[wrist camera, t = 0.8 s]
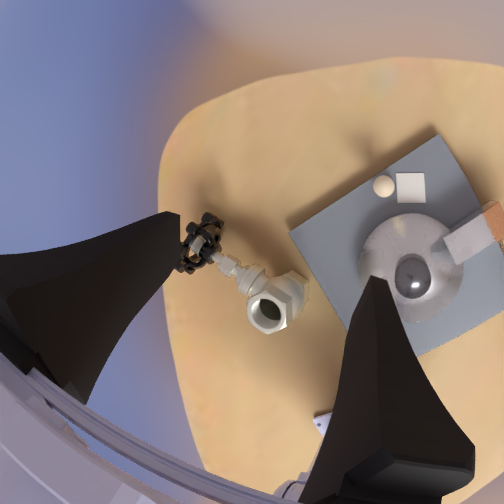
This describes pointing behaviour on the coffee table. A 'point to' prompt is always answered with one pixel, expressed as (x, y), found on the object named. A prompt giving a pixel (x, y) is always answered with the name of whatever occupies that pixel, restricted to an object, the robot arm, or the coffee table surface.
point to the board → (391, 204)
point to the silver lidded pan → (427, 257)
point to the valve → (246, 278)
